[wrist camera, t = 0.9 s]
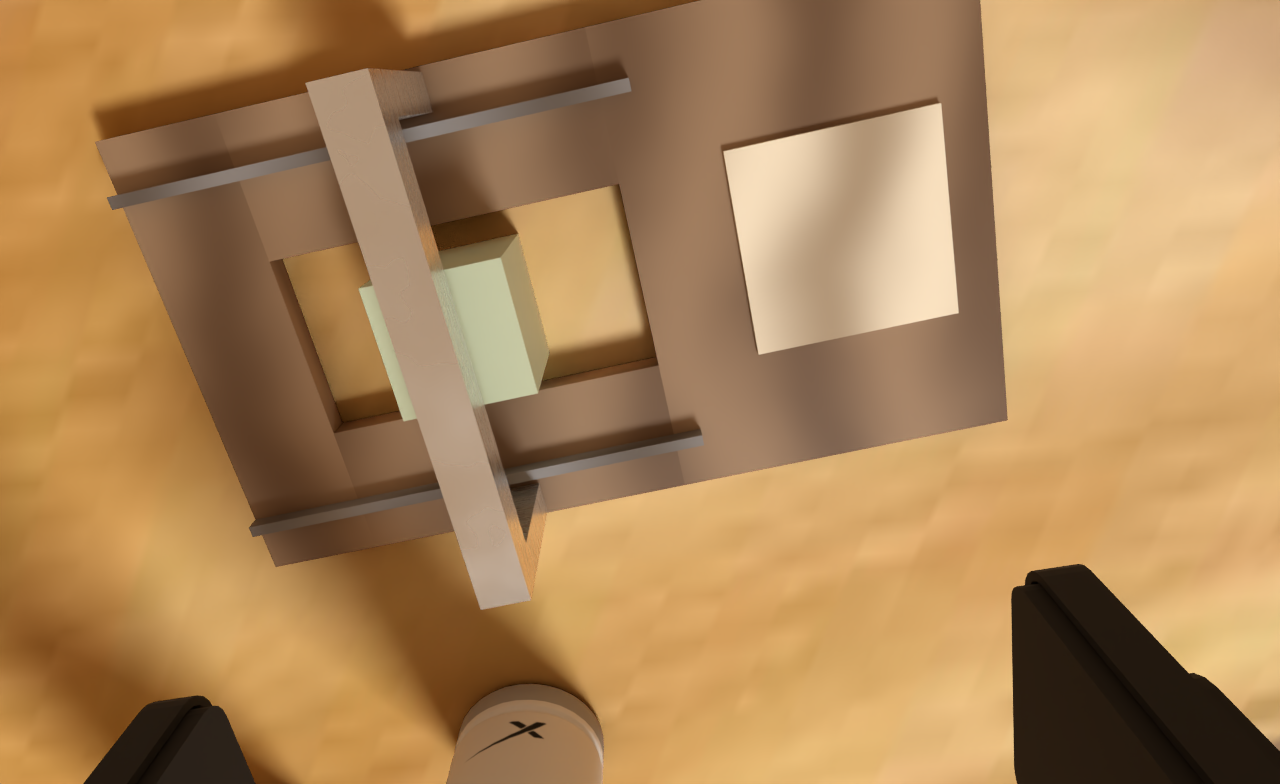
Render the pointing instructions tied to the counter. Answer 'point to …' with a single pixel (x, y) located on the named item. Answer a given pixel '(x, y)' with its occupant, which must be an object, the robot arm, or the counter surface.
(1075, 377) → the counter surface
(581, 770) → the travel mug
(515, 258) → the block
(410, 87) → the gate
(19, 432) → the counter surface
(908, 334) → the board
